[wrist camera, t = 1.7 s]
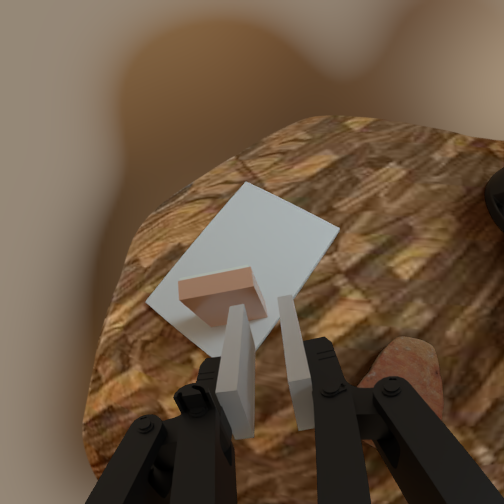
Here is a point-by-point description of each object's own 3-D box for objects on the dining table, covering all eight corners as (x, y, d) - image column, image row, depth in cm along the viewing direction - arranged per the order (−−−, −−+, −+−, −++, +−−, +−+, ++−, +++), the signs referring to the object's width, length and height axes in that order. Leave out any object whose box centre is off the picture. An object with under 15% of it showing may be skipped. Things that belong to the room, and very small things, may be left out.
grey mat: (246, 184, 54) (246, 181, 53) (339, 231, 47) (339, 228, 46) (147, 303, 47) (145, 301, 46) (237, 376, 40) (235, 375, 39)
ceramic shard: (483, 371, 29) (421, 472, 27) (461, 368, 35) (406, 457, 33) (400, 317, 33) (330, 427, 31) (385, 320, 39) (325, 414, 37)
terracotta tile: (267, 317, 42) (253, 286, 32) (211, 327, 43) (178, 300, 32) (264, 300, 43) (250, 264, 33) (209, 310, 44) (177, 278, 33)
